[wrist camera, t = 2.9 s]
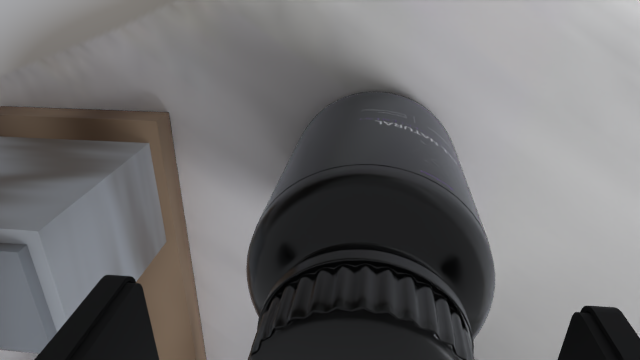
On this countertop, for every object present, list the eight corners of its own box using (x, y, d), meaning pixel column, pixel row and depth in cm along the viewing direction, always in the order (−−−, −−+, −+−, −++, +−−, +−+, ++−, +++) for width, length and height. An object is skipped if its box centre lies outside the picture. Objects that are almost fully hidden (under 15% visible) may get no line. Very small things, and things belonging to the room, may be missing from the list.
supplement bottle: (451, 76, 18) (560, 253, 7) (455, 224, 21) (537, 511, 10) (282, 96, 19) (155, 274, 8) (308, 234, 22) (239, 500, 11)
